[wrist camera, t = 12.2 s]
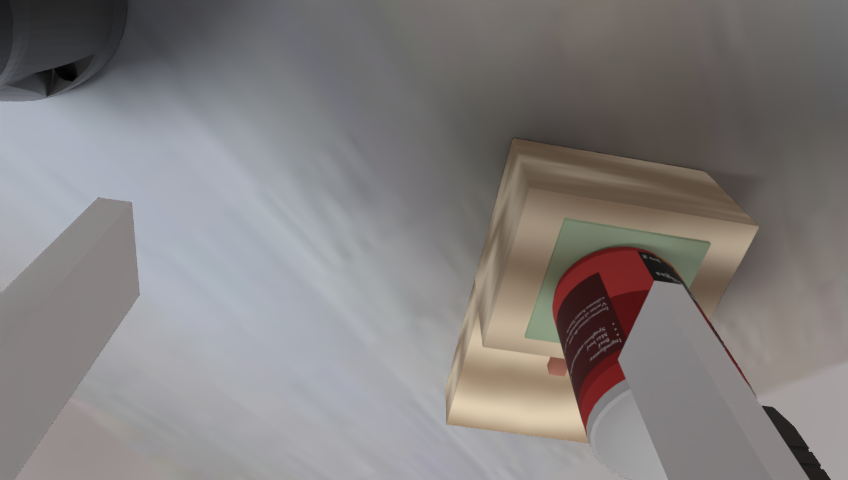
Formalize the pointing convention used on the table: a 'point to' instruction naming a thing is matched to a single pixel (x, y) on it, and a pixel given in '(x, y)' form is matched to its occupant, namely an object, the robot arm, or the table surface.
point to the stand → (555, 253)
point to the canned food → (611, 351)
